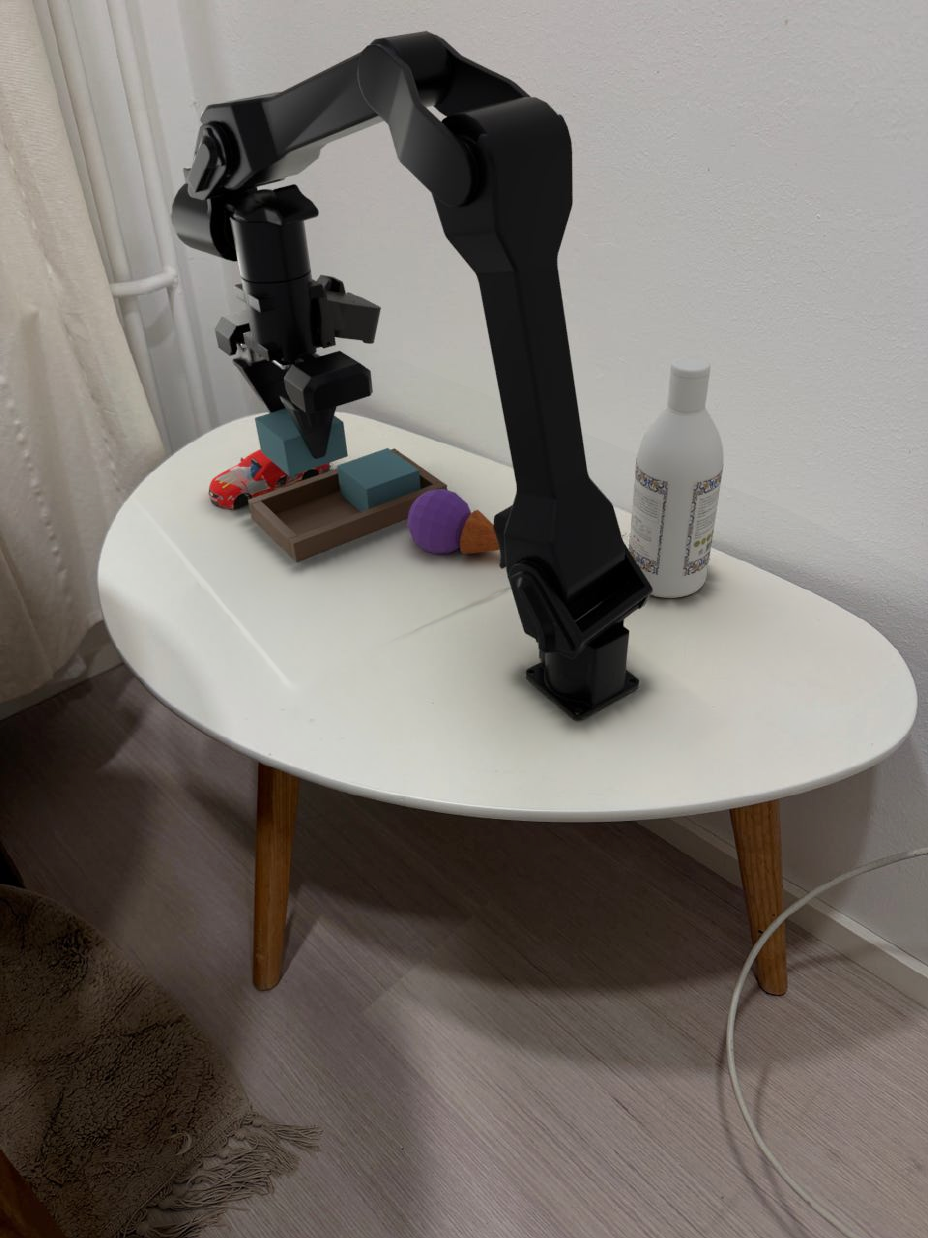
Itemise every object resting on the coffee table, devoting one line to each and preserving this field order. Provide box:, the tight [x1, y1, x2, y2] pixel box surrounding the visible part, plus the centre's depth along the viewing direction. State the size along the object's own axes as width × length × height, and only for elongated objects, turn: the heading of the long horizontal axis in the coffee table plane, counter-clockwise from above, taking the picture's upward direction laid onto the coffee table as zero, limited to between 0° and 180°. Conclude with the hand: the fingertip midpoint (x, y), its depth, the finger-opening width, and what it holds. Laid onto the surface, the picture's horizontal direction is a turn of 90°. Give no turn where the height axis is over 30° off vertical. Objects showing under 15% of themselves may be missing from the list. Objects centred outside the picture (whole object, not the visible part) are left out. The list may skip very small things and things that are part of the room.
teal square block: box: [336, 447, 420, 512], centre depth 93 cm, size 6×6×4 cm
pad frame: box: [248, 448, 448, 563], centre depth 92 cm, size 10×17×3 cm, turn 125°
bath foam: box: [628, 355, 725, 599], centre depth 76 cm, size 7×7×20 cm
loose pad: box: [254, 408, 349, 476], centre depth 84 cm, size 6×6×4 cm
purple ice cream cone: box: [406, 489, 500, 555], centre depth 83 cm, size 6×6×20 cm
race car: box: [208, 448, 331, 510], centre depth 96 cm, size 13×5×4 cm, turn 125°
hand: (303, 444), depth 85 cm, fingers closed on loose pad, 6 cm apart
